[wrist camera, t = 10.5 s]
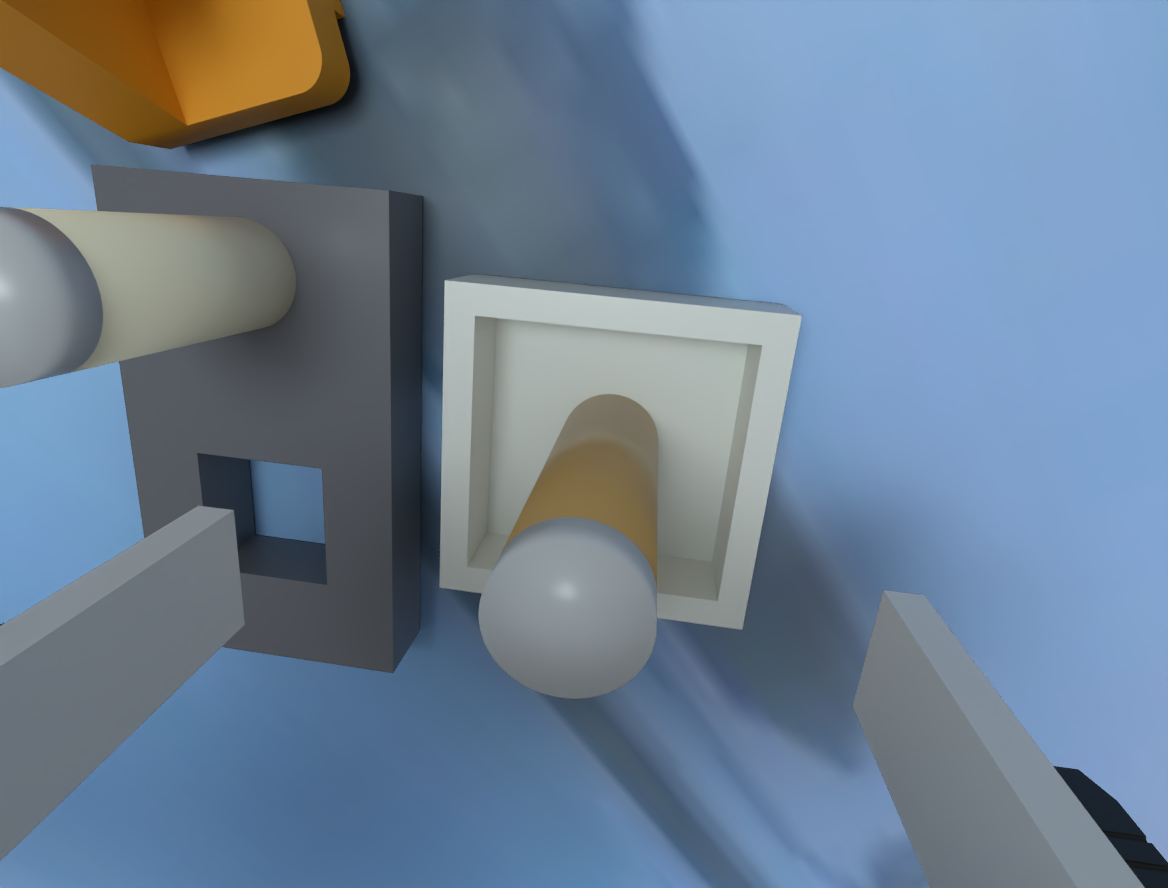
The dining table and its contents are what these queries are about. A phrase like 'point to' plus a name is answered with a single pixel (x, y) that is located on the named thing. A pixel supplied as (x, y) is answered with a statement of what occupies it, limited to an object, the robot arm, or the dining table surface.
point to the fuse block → (249, 376)
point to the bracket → (178, 61)
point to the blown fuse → (582, 559)
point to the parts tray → (628, 368)
